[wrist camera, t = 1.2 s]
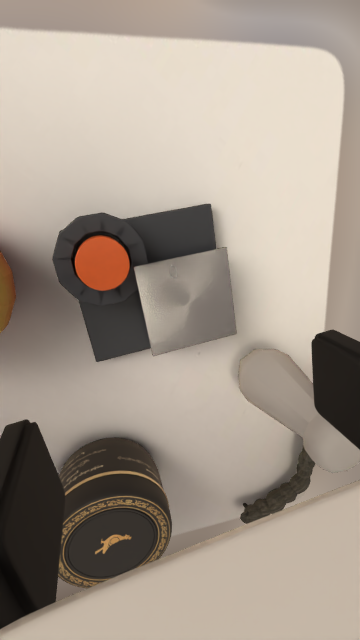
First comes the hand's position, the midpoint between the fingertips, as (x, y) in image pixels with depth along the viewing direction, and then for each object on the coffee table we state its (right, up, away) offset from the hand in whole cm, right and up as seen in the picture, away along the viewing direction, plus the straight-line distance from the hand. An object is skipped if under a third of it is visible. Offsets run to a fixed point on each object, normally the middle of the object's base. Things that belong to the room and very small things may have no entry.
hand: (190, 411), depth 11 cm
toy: (+14, -15, +24) cm, 31 cm away
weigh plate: (0, +4, +15) cm, 16 cm away
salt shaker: (+7, -2, +23) cm, 24 cm away
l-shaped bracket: (-3, +6, +17) cm, 18 cm away
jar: (-8, -12, +22) cm, 26 cm away
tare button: (-6, +7, +13) cm, 16 cm away
